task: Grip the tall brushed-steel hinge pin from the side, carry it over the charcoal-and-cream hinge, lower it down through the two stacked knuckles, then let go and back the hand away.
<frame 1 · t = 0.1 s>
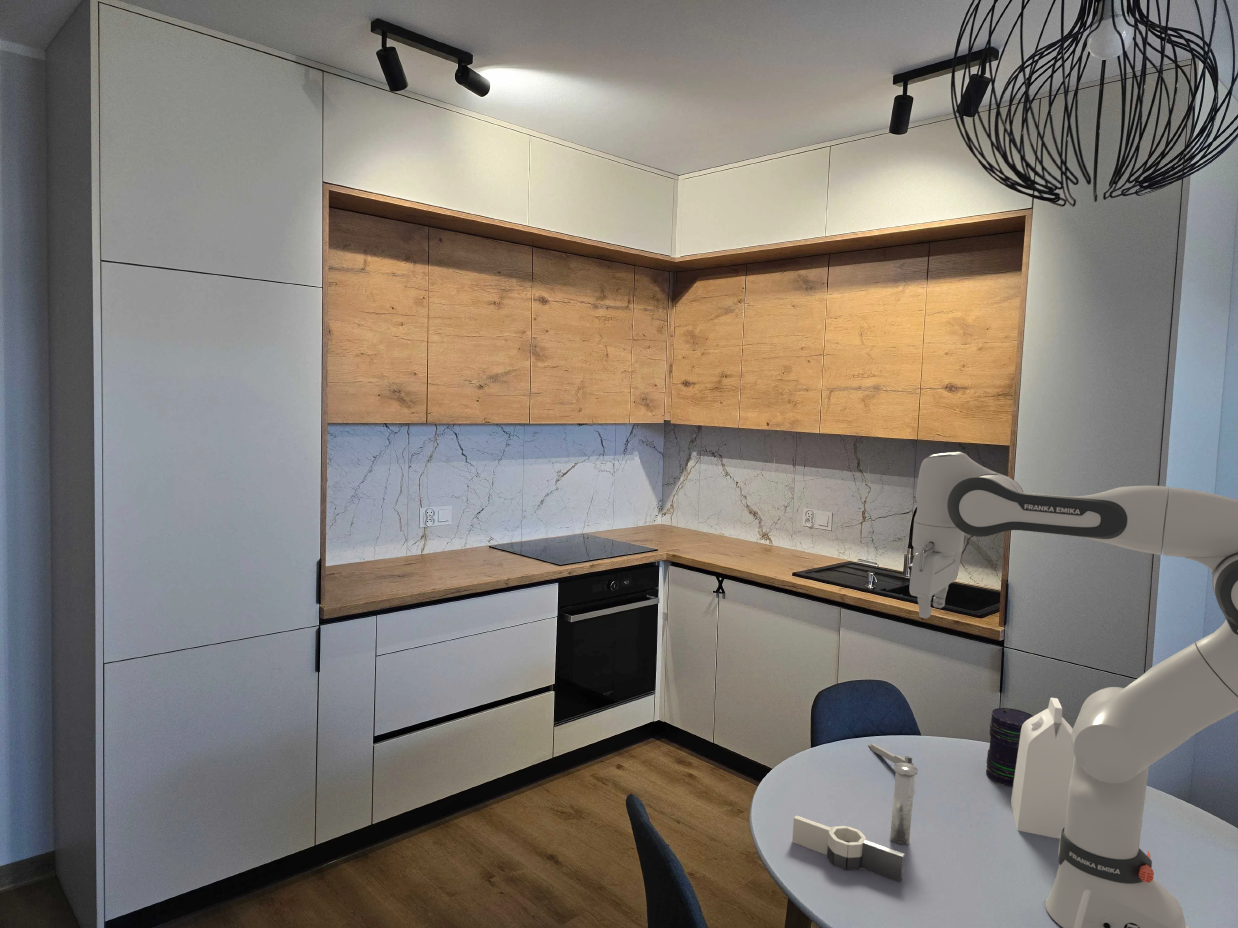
hand: (931, 611, 157), 48 cm above the table, tool pointing down, fingers open, 8 cm apart
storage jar: (1008, 778, 197), on the table
hinge leaf b: (845, 859, 159), on the table
hinge pin: (899, 839, 167), on the table
hinge leaf a: (845, 859, 159), on the table
milk: (1043, 822, 177), on the table
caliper: (889, 766, 200), on the table
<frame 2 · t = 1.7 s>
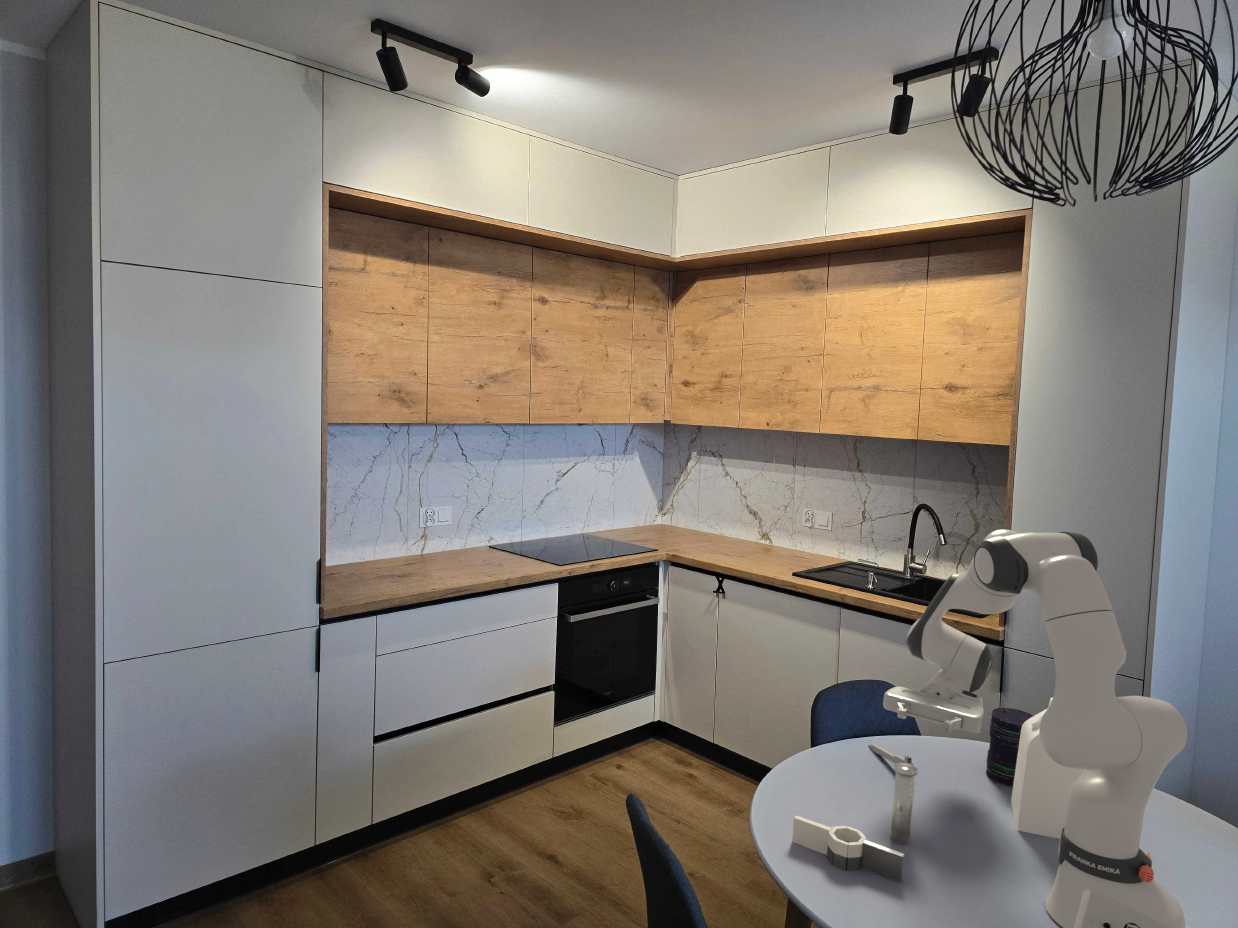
hand: (923, 721, 175), 21 cm above the table, tool horizontal, fingers open, 8 cm apart
nothing on the table moved.
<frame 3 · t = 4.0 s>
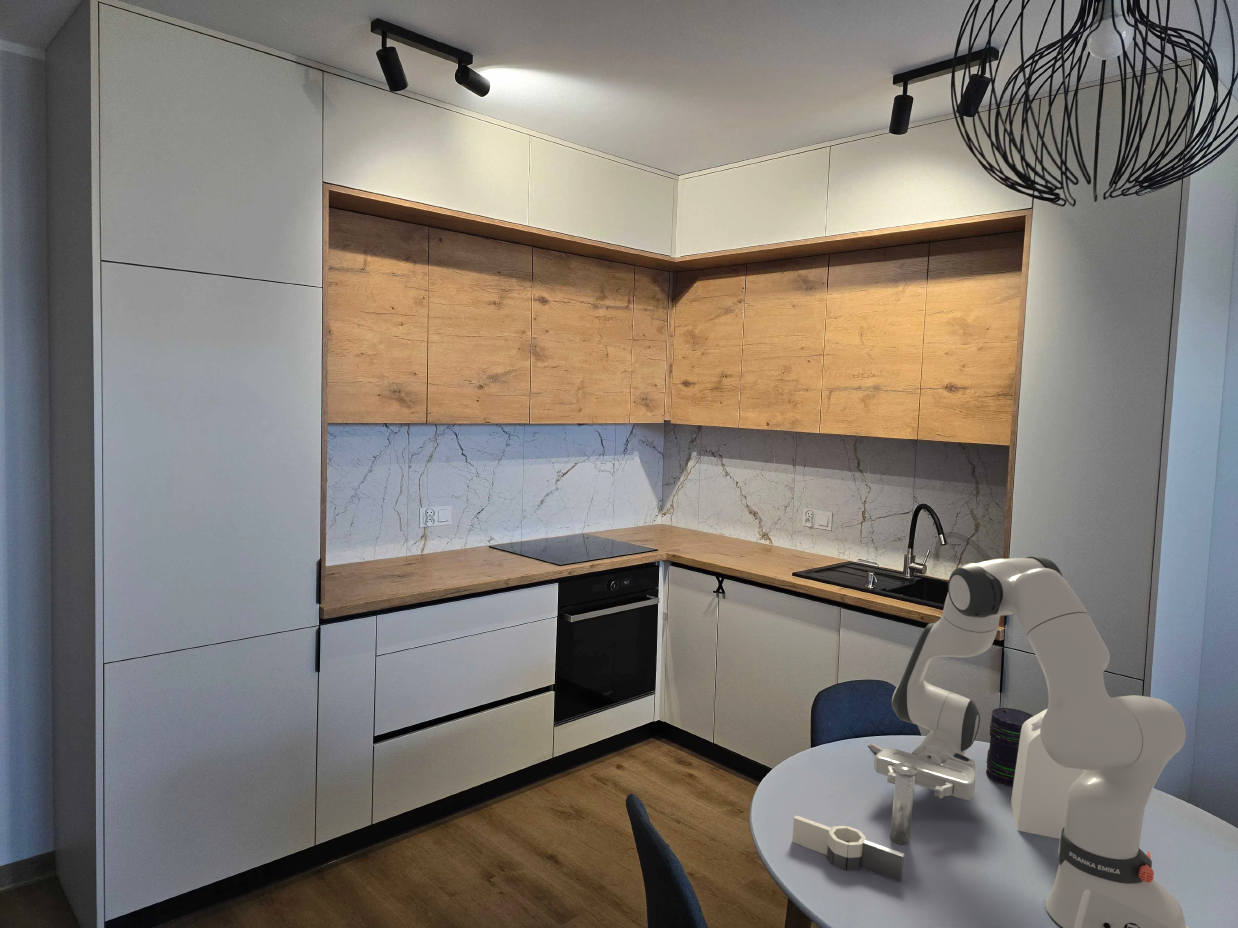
hand: (914, 786, 172), 8 cm above the table, tool horizontal, fingers open, 8 cm apart
nothing on the table moved.
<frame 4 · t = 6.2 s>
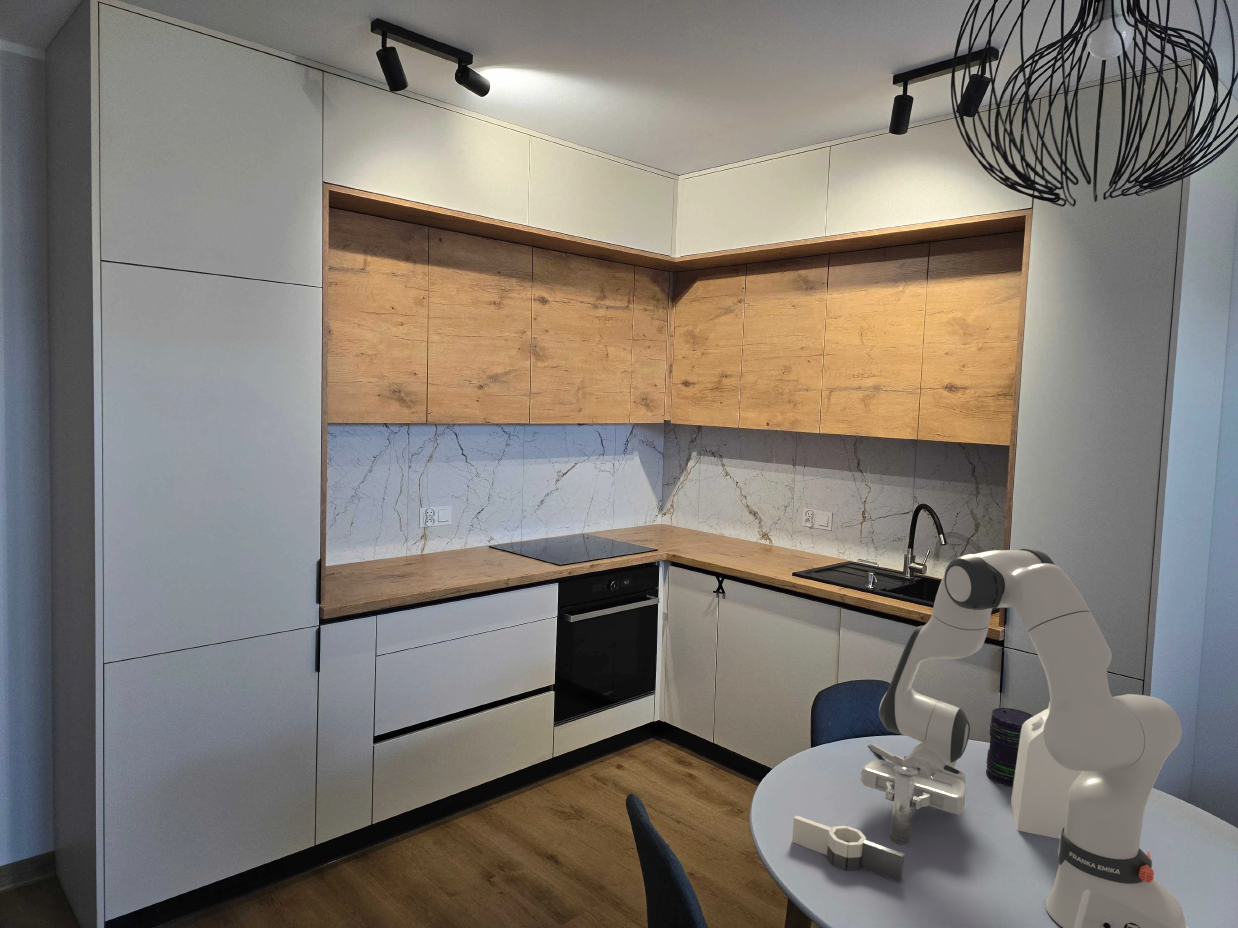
hand: (901, 800, 166), 9 cm above the table, tool horizontal, fingers closed on hinge pin, 4 cm apart
hinge pin: (899, 839, 167), on the table, touching gripper
everything else where it was.
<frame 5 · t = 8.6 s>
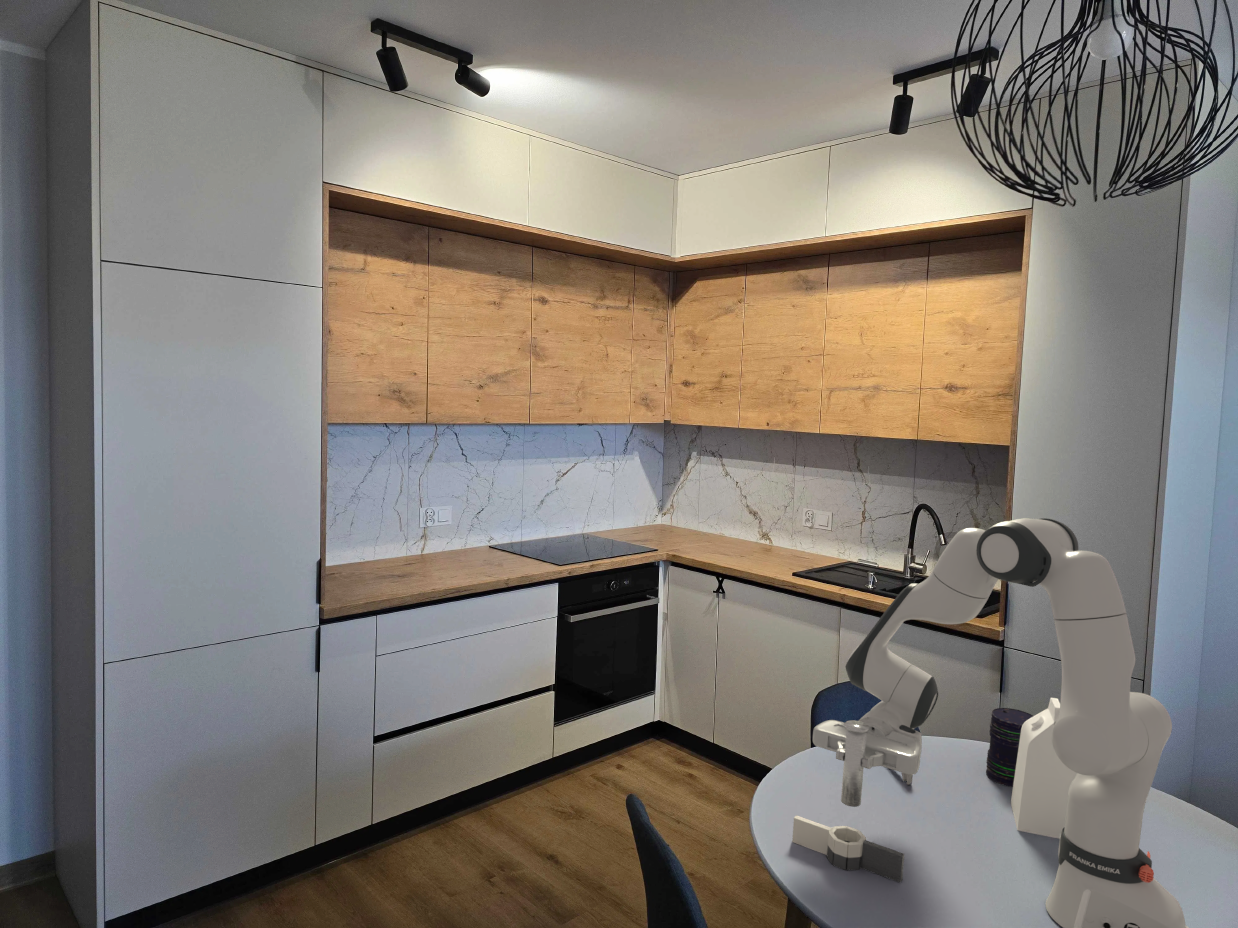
hand: (852, 760, 157), 20 cm above the table, tool horizontal, fingers closed on hinge pin, 4 cm apart
hinge pin: (850, 801, 158), point 11 cm above the table, touching gripper
everything else where it was.
when the fingers open (10 cm above the table, at t = 11.3 s): hinge pin drops 1 cm, resting in hinge leaf a.
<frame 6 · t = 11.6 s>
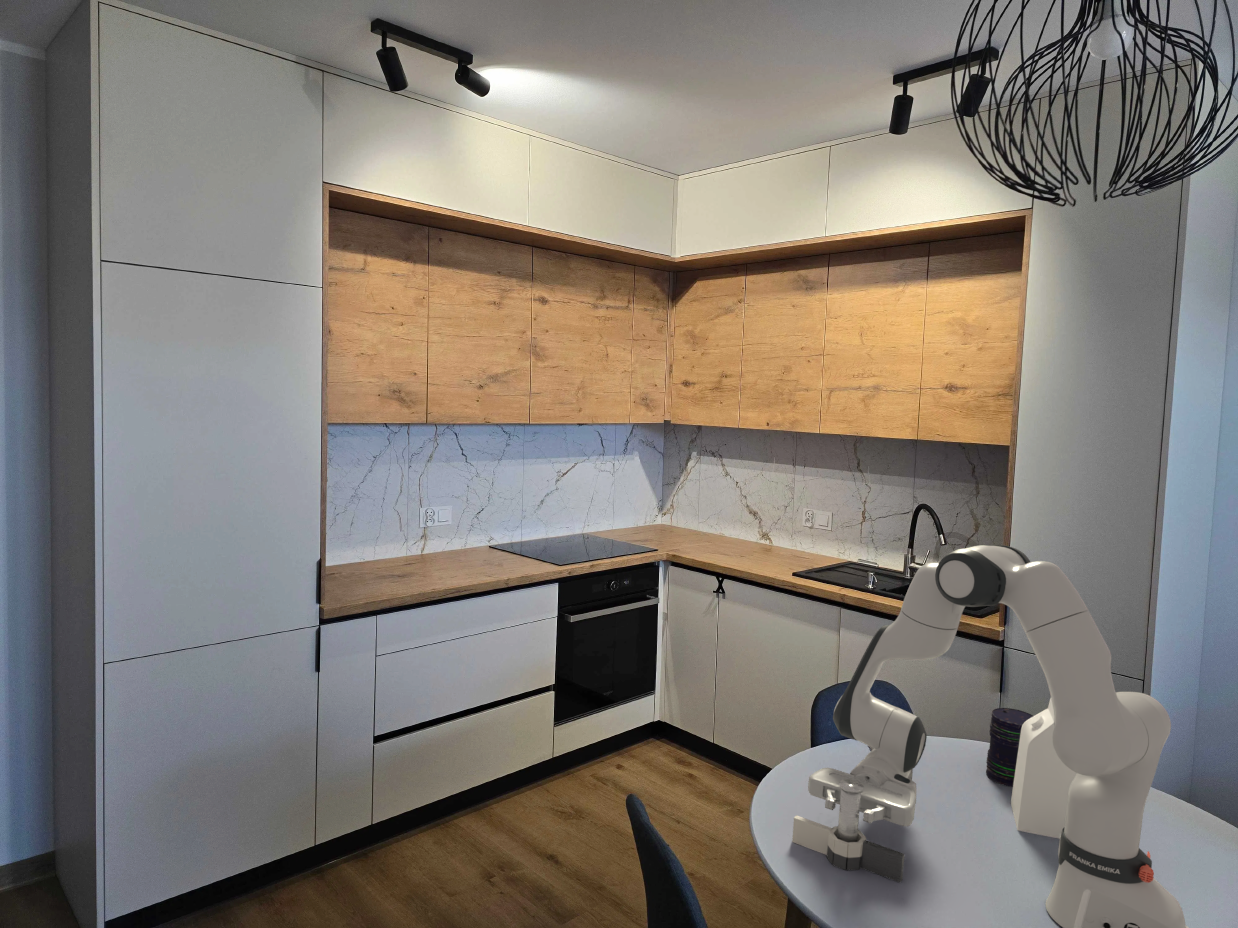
hand: (847, 811, 158), 10 cm above the table, tool horizontal, fingers open, 6 cm apart
hinge pin: (845, 860, 159), resting in hinge leaf a
everything else where it was.
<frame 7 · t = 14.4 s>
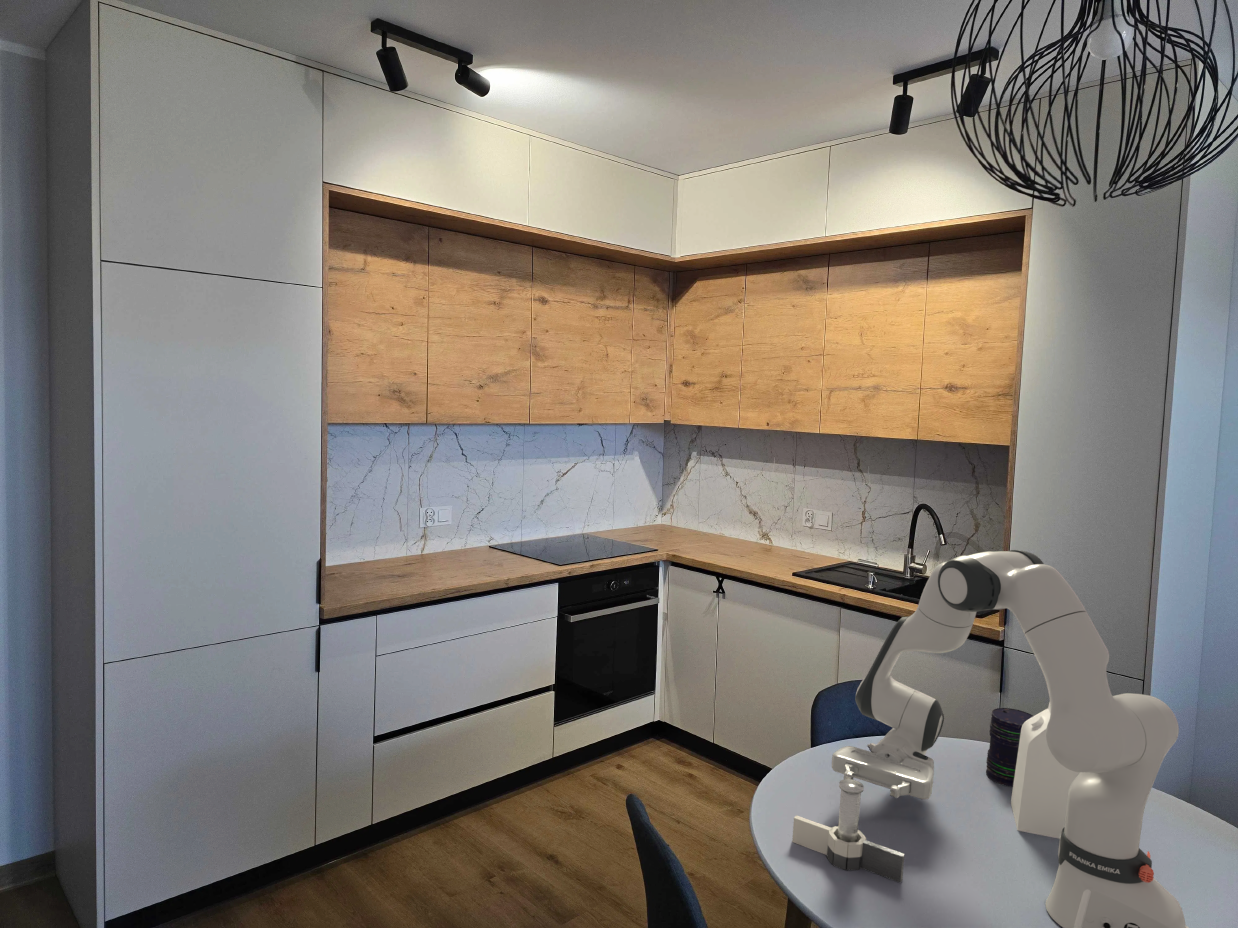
hand: (870, 785, 168), 10 cm above the table, tool horizontal, fingers open, 8 cm apart
nothing on the table moved.
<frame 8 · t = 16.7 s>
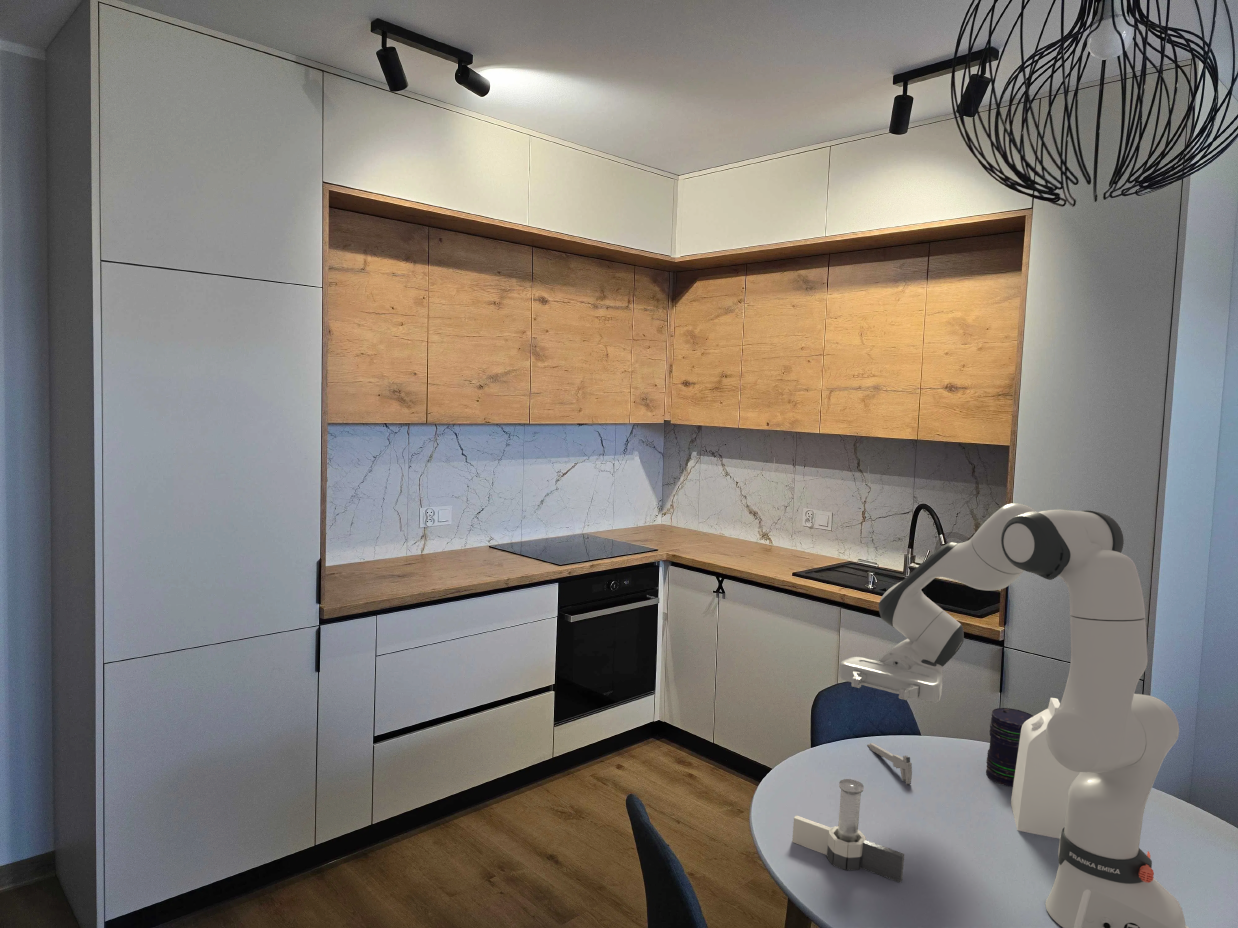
hand: (878, 689, 166), 30 cm above the table, tool horizontal, fingers open, 8 cm apart
nothing on the table moved.
at the end: hinge pin 0.0 cm off-centre on the hinge leaf a, point 0.0 cm above the hinge leaf a's base; hinge pin tilted 0°; the gripper is holding nothing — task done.
